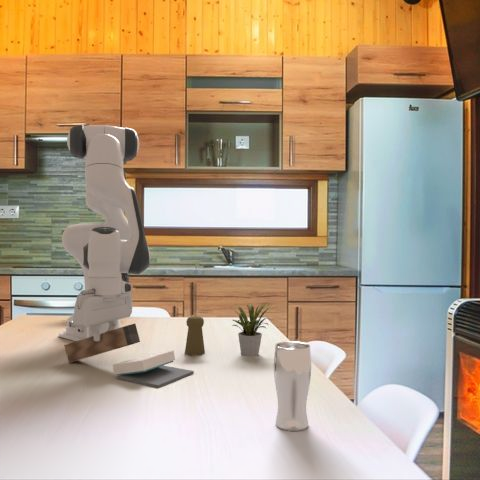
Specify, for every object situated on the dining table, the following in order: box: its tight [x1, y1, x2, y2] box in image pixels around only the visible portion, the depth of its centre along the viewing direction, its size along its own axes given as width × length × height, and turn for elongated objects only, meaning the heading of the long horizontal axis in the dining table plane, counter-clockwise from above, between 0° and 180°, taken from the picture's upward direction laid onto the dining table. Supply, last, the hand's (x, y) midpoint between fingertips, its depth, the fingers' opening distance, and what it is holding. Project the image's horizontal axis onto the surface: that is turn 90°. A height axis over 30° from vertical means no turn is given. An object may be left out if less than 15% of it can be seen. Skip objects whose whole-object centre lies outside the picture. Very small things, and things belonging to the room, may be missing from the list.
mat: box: [116, 365, 195, 389], centre depth 122 cm, size 13×14×1 cm
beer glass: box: [273, 341, 312, 432], centre depth 92 cm, size 7×7×15 cm
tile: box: [112, 350, 176, 377], centre depth 124 cm, size 3×12×10 cm
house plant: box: [230, 300, 277, 358], centre depth 146 cm, size 14×14×16 cm
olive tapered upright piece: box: [184, 315, 206, 356], centre depth 147 cm, size 6×6×11 cm
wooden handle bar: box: [64, 323, 141, 364], centre depth 131 cm, size 22×4×5 cm, turn 67°
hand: (104, 338), depth 131 cm, fingers closed on wooden handle bar, 3 cm apart
